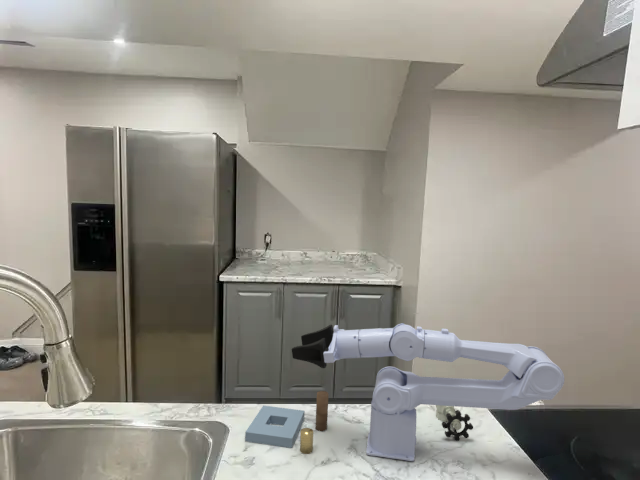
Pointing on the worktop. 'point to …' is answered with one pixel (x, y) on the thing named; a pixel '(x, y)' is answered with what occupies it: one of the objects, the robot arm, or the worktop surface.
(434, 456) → the worktop surface
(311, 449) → the brass pin
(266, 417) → the hole plate
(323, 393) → the walnut pin
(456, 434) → the valve
